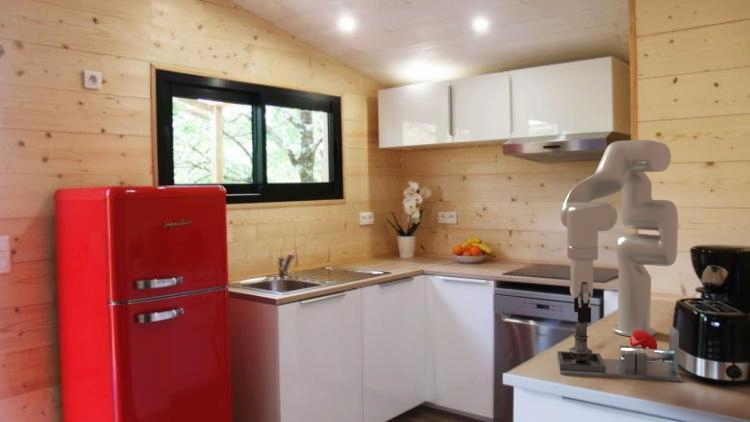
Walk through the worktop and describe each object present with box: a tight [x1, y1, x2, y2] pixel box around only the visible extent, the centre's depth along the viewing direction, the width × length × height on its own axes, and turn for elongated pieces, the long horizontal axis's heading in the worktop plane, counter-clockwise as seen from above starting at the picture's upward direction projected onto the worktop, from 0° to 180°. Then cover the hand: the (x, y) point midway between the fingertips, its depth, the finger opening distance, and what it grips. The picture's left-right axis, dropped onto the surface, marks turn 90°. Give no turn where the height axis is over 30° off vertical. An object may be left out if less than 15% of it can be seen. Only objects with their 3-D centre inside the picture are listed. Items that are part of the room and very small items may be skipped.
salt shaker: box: [568, 322, 593, 364], centre depth 158 cm, size 6×6×12 cm
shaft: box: [619, 326, 680, 372], centre depth 154 cm, size 5×13×10 cm, turn 77°
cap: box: [629, 330, 659, 350], centre depth 171 cm, size 8×6×6 cm
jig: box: [556, 345, 683, 383], centre depth 156 cm, size 12×28×6 cm, turn 77°
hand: (582, 317), depth 158 cm, fingers open, 9 cm apart
